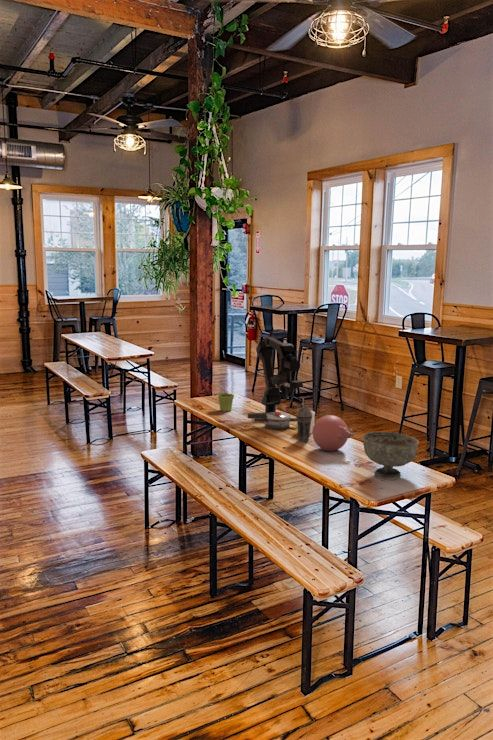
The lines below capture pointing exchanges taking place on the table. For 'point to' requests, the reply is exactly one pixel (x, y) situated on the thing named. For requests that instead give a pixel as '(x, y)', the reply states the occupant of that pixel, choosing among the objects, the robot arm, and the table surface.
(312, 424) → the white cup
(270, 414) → the lid
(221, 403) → the plant pot
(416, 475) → the table surface
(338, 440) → the balloon
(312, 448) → the table surface
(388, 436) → the bowl
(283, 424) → the pot
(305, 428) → the beverage cup
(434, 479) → the table surface
